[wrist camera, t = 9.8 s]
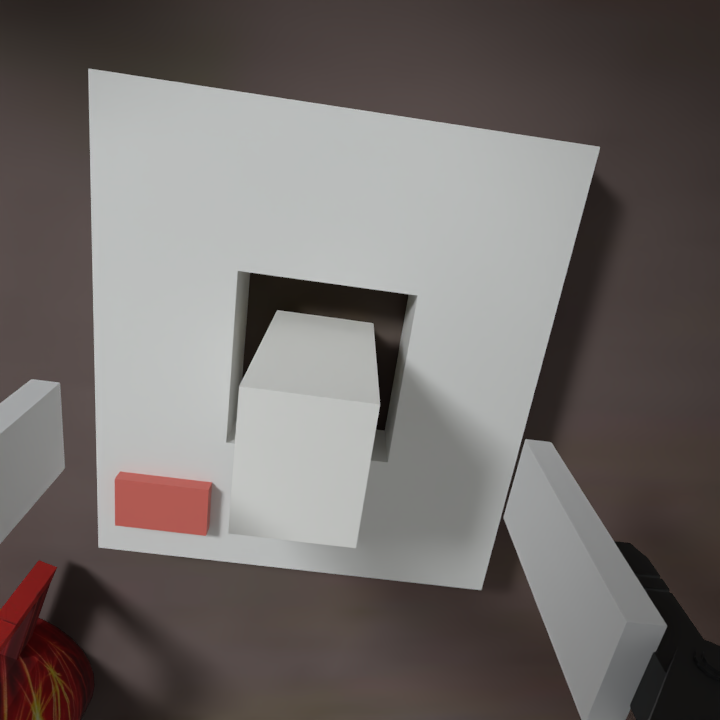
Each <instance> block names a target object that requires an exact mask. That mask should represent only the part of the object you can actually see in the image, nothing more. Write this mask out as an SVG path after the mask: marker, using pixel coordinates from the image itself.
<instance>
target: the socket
mask: <svg viewBox="0 0 720 720" xmlns="http://www.w3.org/2000/svg"><path fill="white" fill-rule="evenodd" d="M88 80H89V126H90V173H91V219H92V266H93V312H94V359H95V405H96V452H97V498H98V545H99V547H100V548H109V549H118V550H127V551H136V552H144V553H153V554H162V555H171V556H180V557H189V558H198V559H207V560H216V561H225V562H234V563H243V564H252V565H260V566H269V567H278V568H287V569H296V570H305V571H314V572H323V573H332V574H341V575H350V576H359V577H368V578H377V579H385V580H394V581H403V582H412V583H421V584H430V585H439V586H448V587H457V588H466V589H475V590H481V589H482V586H483V582H484V578H485V575H486V571H487V567H488V563H489V560H490V556H491V552H492V549H493V545H494V541H495V537H496V534H497V530H498V526H499V522H500V519H501V515H502V511H503V508H504V504H505V500H506V496H507V493H508V489H509V485H510V481H511V478H512V474H513V470H514V467H515V463H516V459H517V455H518V452H519V448H520V444H521V440H522V437H523V433H524V429H525V426H526V422H527V418H528V414H529V411H530V407H531V403H532V400H533V396H534V392H535V388H536V385H537V381H538V377H539V373H540V370H541V366H542V362H543V359H544V355H545V351H546V347H547V344H548V340H549V336H550V332H551V329H552V325H553V321H554V318H555V314H556V310H557V306H558V303H559V299H560V295H561V291H562V288H563V284H564V280H565V277H566V273H567V269H568V265H569V262H570V258H571V254H572V251H573V247H574V243H575V239H576V236H577V232H578V228H579V224H580V221H581V217H582V213H583V210H584V206H585V202H586V198H587V195H588V191H589V187H590V183H591V180H592V176H593V172H594V169H595V165H596V161H597V157H598V154H599V150H600V147H597V146H591V145H584V144H578V143H571V142H565V141H558V140H552V139H545V138H539V137H532V136H525V135H519V134H512V133H506V132H499V131H493V130H486V129H480V128H473V127H467V126H460V125H454V124H447V123H441V122H434V121H428V120H421V119H415V118H408V117H402V116H395V115H389V114H382V113H375V112H369V111H362V110H356V109H349V108H343V107H336V106H330V105H323V104H317V103H310V102H304V101H297V100H291V99H284V98H278V97H271V96H265V95H258V94H252V93H245V92H238V91H232V90H225V89H219V88H212V87H206V86H199V85H193V84H186V83H180V82H173V81H167V80H160V79H154V78H147V77H141V76H134V75H128V74H121V73H115V72H108V71H102V70H95V69H88ZM250 273H257V274H265V275H272V276H279V277H286V278H294V279H301V280H308V281H316V282H323V283H330V284H337V285H345V286H352V287H359V288H366V289H374V290H381V291H388V292H395V293H403V294H408V300H407V306H406V312H405V317H404V323H403V329H402V335H401V340H400V346H399V352H398V358H397V363H396V369H395V375H394V381H393V386H392V392H391V398H390V404H389V409H388V415H387V421H386V427H385V431H384V430H376V432H375V438H374V444H373V450H372V456H371V462H370V468H369V474H368V480H367V485H366V491H365V497H364V503H363V509H362V515H361V521H360V527H359V533H358V539H357V545H356V548H350V547H341V546H333V545H324V544H315V543H307V542H298V541H289V540H281V539H272V538H263V537H255V536H246V535H237V534H229V533H228V529H229V515H230V502H231V488H232V475H233V462H234V448H235V435H236V421H237V408H238V394H239V386H240V384H241V382H242V376H243V363H244V349H245V336H246V323H247V309H248V296H249V283H250Z"/></svg>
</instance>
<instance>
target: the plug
mask: <svg viewBox="0 0 720 720" xmlns="http://www.w3.org/2000/svg"><path fill="white" fill-rule="evenodd" d="M379 409H380V396H379V384H378V372H377V360H376V348H375V336H374V324H373V323H369V322H361V321H354V320H347V319H339V318H332V317H325V316H317V315H310V314H303V313H295V312H288V311H280V310H277V311H276V313H275V315H274V317H273V319H272V321H271V323H270V325H269V327H268V329H267V331H266V333H265V335H264V337H263V339H262V341H261V343H260V345H259V347H258V349H257V351H256V353H255V355H254V357H253V359H252V361H251V363H250V365H249V367H248V370H247V372H246V374H245V376H244V378H243V380H242V382H241V384H240V386H239V394H238V408H237V421H236V435H235V448H234V462H233V475H232V488H231V502H230V515H229V529H228V533H229V534H237V535H246V536H255V537H263V538H272V539H281V540H289V541H298V542H307V543H315V544H324V545H333V546H341V547H350V548H356V545H357V539H358V533H359V527H360V521H361V515H362V509H363V503H364V497H365V491H366V485H367V480H368V474H369V468H370V462H371V456H372V450H373V444H374V438H375V432H376V426H377V421H378V415H379Z"/></svg>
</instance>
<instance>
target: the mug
mask: <svg viewBox="0 0 720 720" xmlns="http://www.w3.org/2000/svg"><path fill="white" fill-rule="evenodd" d="M56 569H57V567H55V566H52V565H50V564H47V563H44V562H42V561H38V562H37V563H36V565H35V566H34V567H33V568H32V570H31V571H30V572H29V574H28V575H27V576H26V578H25V579H24V580H23V581H22V583H21V584H20V585H19V587H18V588H17V589H16V590H15V592H14V593H13V594H12V596H11V597H10V598H9V600H8V601H7V602H6V603H5V605H4V606H3V607H2V609H0V720H81V719H82V717H83V715H84V713H85V711H86V709H87V707H88V704H89V702H90V700H91V698H92V695H93V690H94V675H93V671H92V668H91V665H90V662H89V660H88V659H87V657H86V655H85V654H84V652H83V651H82V649H81V648H80V647H79V646H78V645H77V644H76V643H75V642H74V640H73V639H72V638H71V637H69V636H68V635H67V634H65V633H64V632H63V631H61V630H60V629H59V628H57V627H56V626H54V625H52V624H50V623H48V622H46V621H45V620H43V619H40V618H38V617H39V614H40V611H41V609H42V606H43V603H44V600H45V597H46V594H47V591H48V588H49V585H50V582H51V580H52V578H53V576H54V573H55V571H56Z"/></svg>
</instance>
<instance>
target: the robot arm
mask: <svg viewBox="0 0 720 720" xmlns="http://www.w3.org/2000/svg"><path fill="white" fill-rule="evenodd" d="M64 469H65V462H64V444H63V427H62V409H61V391H60V383H58V382H50V381H41V380H33V379H31V380H30V381H29V382H27V383H26V384H25V385H23V386H22V387H21V388H19V389H18V390H17V391H16V392H14V393H13V394H12V395H10V396H9V397H8V398H7V399H5V400H4V401H3V402H1V403H0V544H1V542H2V541H3V540H4V539H5V538H6V537H7V535H8V534H9V533H10V532H11V531H12V530H13V528H14V527H15V526H16V525H17V524H18V522H19V521H20V520H21V519H22V518H23V517H24V515H25V514H26V513H27V512H28V511H29V510H30V508H31V507H32V506H33V505H34V504H35V503H36V501H37V500H38V499H39V498H40V497H41V496H42V494H43V493H44V492H45V491H46V490H47V489H48V487H49V486H50V485H51V484H52V483H53V482H54V480H55V479H56V478H57V477H58V476H59V475H60V473H61V472H62V471H63V470H64ZM503 518H504V521H505V523H506V526H507V528H508V531H509V534H510V536H511V539H512V541H513V544H514V547H515V549H516V552H517V554H518V557H519V559H520V562H521V565H522V567H523V570H524V572H525V575H526V578H527V580H528V583H529V585H530V588H531V591H532V593H533V596H534V598H535V601H536V604H537V606H538V609H539V611H540V614H541V617H542V619H543V622H544V624H545V627H546V629H547V632H548V635H549V637H550V640H551V642H552V645H553V648H554V650H555V653H556V655H557V658H558V661H559V663H560V666H561V668H562V671H563V674H564V676H565V679H566V681H567V684H568V687H569V689H570V692H571V694H572V697H573V699H574V702H575V705H576V707H577V710H578V712H579V715H580V718H581V720H626V718H627V715H628V713H629V711H630V709H631V710H632V712H633V714H634V716H635V718H636V720H720V646H718V645H716V644H714V643H711V642H709V641H706V640H704V639H703V638H702V636H701V635H700V633H699V632H698V631H697V629H696V628H695V626H694V625H693V623H692V622H691V620H690V619H689V617H688V616H687V615H686V613H685V612H684V610H683V609H682V607H681V606H680V604H679V603H678V601H677V600H676V598H675V597H674V596H673V594H672V593H670V592H669V588H668V587H667V585H666V584H665V582H664V581H663V580H662V579H660V575H659V574H658V572H657V571H656V569H655V568H654V566H653V565H652V564H651V562H650V561H649V559H648V558H647V557H646V556H644V555H643V554H642V553H641V552H640V551H639V550H637V549H636V548H635V547H634V546H633V545H631V544H630V543H624V542H615V541H613V539H612V538H611V536H610V534H609V533H608V531H607V530H606V528H605V527H604V525H603V523H602V522H601V520H600V519H599V517H598V515H597V514H596V512H595V511H594V509H593V508H592V506H591V504H590V503H589V501H588V500H587V498H586V496H585V495H584V493H583V492H582V490H581V489H580V487H579V485H578V484H577V482H576V481H575V479H574V477H573V476H572V474H571V473H570V471H569V470H568V468H567V466H566V465H565V463H564V462H563V460H562V459H561V457H560V455H559V454H558V452H557V451H556V449H555V447H554V446H553V444H552V443H551V442H546V441H537V440H529V439H525V442H524V446H523V449H522V453H521V456H520V460H519V463H518V467H517V471H516V474H515V478H514V481H513V485H512V488H511V492H510V495H509V499H508V503H507V506H506V510H505V513H504V517H503Z"/></svg>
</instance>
